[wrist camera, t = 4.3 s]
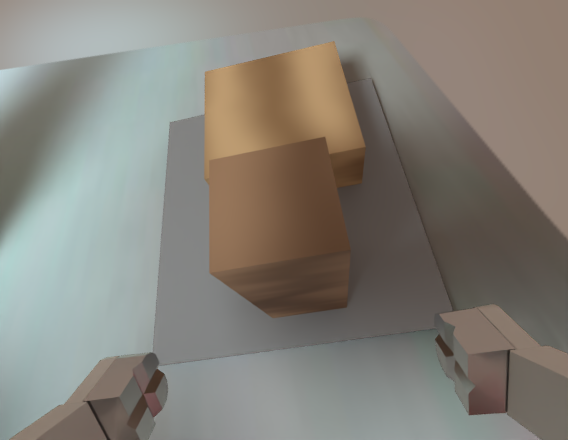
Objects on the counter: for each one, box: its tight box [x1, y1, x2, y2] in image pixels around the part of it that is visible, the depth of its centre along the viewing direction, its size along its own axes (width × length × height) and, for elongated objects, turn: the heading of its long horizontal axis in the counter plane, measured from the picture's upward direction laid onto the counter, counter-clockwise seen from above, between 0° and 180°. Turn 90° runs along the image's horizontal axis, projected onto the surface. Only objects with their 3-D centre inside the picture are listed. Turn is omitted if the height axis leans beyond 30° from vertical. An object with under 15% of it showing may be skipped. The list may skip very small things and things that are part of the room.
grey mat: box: [153, 78, 453, 366], centre depth 22 cm, size 18×20×1 cm
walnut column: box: [209, 137, 351, 318], centre depth 15 cm, size 4×4×10 cm
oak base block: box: [204, 41, 366, 188], centre depth 23 cm, size 10×10×4 cm
